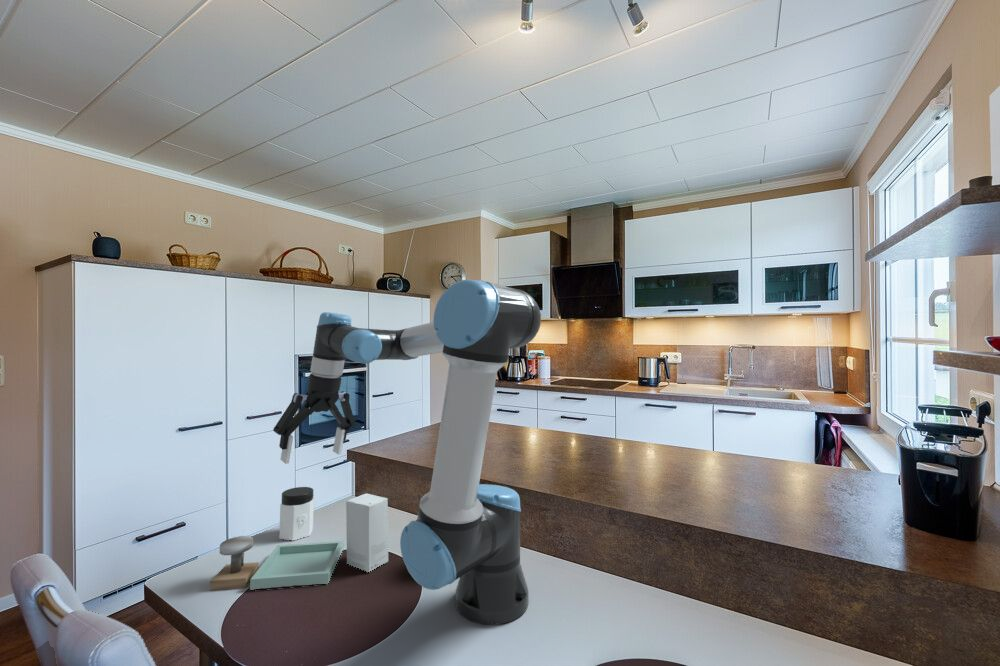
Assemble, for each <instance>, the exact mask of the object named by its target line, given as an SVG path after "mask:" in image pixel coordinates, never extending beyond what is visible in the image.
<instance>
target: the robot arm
mask: <svg viewBox="0 0 1000 666" xmlns="http://www.w3.org/2000/svg"><path fill="white" fill-rule="evenodd" d="M541 322H542V314H541V310H540V307H539V304H538V303H537V301H535V298H533V297H532V296H531V295H530V294H529V293H527V292H526V291H524V290H522V289H518V288H514V287H508V286H506V285H505V286H504V285H500V284H497V283H494V282H490V281H486V280H485V281H484V280H476V279H462V280H459V281H456V282H454V283H453V284H451V285H450V286H449V287H448V289H445V290H444V292H443V293H442V294H440V296H439V299H438V301H437V303H436V305H435V308H434V312H433V320H432V322H427V323H423V324H419V325H414V326H411V327H406V328H402V329H398V330H396V329H379V328H378V329H377V328H376V329H375V328H362V327H357V326H356V327H355V326H352V318H351V316H349V315H346V314H342V313H337V312H330V311H329V312H328V311H327V312H322V313H320V315H319V318H318V324H317V325H316V333H315V339H314V346H313V353H312V358H311V363H310V369H309V371H310V372H311V373H310V374H309V375H308V382H307V391H306V393H305V394H299V393H297V392H295V393H293V394H292V397H291V400H290V403H289V405H288V406H287V408H286V409H285V411H284V412H283V414H282V415H281V416H280V418H279V419H278V421H277V422H276V425H275V426H274V427H273V432H274V433H275V434H277V435H279V436H280V438H279V439H280V440H279V444H278V445H279V446H278V447H279V448H280V449H281V454H280V461H281V462H283V463H284V464H285V465H286V464H290V459H291V452H292V446H293V440H294V436H293V435H292V434H293V432H295V431H296V429H297V428H299V427H300V426H301V424H303V422H304V421H305V420H306V419H307V418H308V417H309V416H311V415H312V414H314V413H320V412H328V411H329V412H330V414H331V416H333V418H334V419H335V420H336V422H337V423H338V425H339V426H337V427H336V431H335V435H334V436H335V437H334V441H333V449H332V452H333V453H335V454H336V455H342V451H343V445H344V444H343V443H344V441H346V439H347V434H348V431H350V430H351V427H355V426H356V420H355V418H354V413H353V410H352V406H351V403H350V394H349V393H348V392H346V391H345V390H344V391H343V390H342V391H340V389H341V385H342V377H341V376H342V375H343V372H344V366H345V361H346V359H348V360H350V361H352V362H354V363H360V364H362V365H363V364H370V363H373V362H375V361H382V360H384V361H385V360H389V361H391V360H394V361H396V360H399V361H400V360H402V361H409V360H415V359H418V358H419V357H422V356H429V355H433V354H442V355H443V356H444V357H445V359H446V360H447V362H448V364H449V366H448V372H447V378H446V386H445V392H444V398H443V404H442V412H441V419H440V425H439V431H438V435H437V437H438V438H437V442H436V443H437V445H436V451H435V456H434V463H433V470H432V475H431V476H432V477H431V483H430V490H429V491H427V492H426V494H424V495H423V496H422V497H421V499H420V500H419V504H418V505H419V507H418V510H417V511H418V512H417V518H416V520H412V521H410V522H409V523H408V524H407V525H406V526H404V528H403V529H402V531H401V533H400V539H399V540H400V541H399V543H400V544H399V546H400V551H401V552H400V553H401V558H402V560H403V563H404V564H405V566H406V569H407V572H408V573H409V574H410V575H411V578H413V580H414V581H415V582H416V583H417V584H418V585H420V586H421V587H422V588H425V589H427V590H430V591H435V590H436V591H437V590H439V589H441V588H444V587H446V586H447V585H451V584H453V583H454V582H455V581H456V580H458V581H457V585H456V588H455V607H456V610H457V612H458V613H459V614H460V615H462V617H464V618H466V619H467V620H469V621H471V622H474V623H477V624H481V625H500V624H507V623H508V622H512V621H514V620H516V619H518V618H520V617H521V616H522V615H524V613H525V612H526V611H527V609H528V607H529V588H528V584H527V582H526V577H525V575H524V571H523V568H522V564H521V512H522V509H521V498H520V494H519V493H518V492H517V491H516V490H515V489H512V488H510V487H508V486H505V485H504V486H502V485H498V484H497V485H496V484H486V483H485V484H484V483H483V484H482V483H480V480H481V475H482V468H483V462H484V457H485V455H484V454H485V450H486V444H487V439H488V437H487V436H488V430H489V425H490V420H491V419H490V418H491V413H492V408H493V407H492V406H493V400H494V395H495V393H494V392H495V388H496V382H497V375H498V372H499V370H500V369H501V368H503V367H504V366H506V365H507V364H508V361H509V355H510V349H518V348H522V347H524V346H525V345H529V343H530V342H532V341H533V340H534V339H535V337H537V334H538V332H539V330H540V328H541V325H542V323H541ZM339 391H340V392H339ZM337 401H339V402H340V407H341V409H342V412H343V415H342V413H341V411H340V410H339V408H338V406H337V405H336V403H337ZM304 402H305V403H304ZM302 404H303V405H302ZM301 405H302V406H301ZM300 408H301V409H300ZM299 409H300V410H299ZM343 416H344V417H343Z"/></svg>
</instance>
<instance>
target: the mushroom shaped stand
mask: <svg viewBox="0 0 1000 666" xmlns="http://www.w3.org/2000/svg"><path fill="white" fill-rule="evenodd" d="M253 546H254V537H253V536H250V535H239V536H235V537H231V538H227V539H226V540H224V541H222V542H221V543H220V544H219V554H220V555H222V556H230V564H228V563H227V564H225V565H224V566H223V567H222V569H221V570H219V571H218V573H217V574H216V575H215V576H214V577H212V578H211V580H210V582H209V583H210V586H209V591H218V590H219V591H220V590H232V589H233V590H234V589H243V588H245V589H246V588H247V586H249V585H250V579H251V578H252V577H253V575H254V574H255V573H256V572H257V570H258V569H259V568H260V562H258V561H257V562H244V559H245V553H246V552H247V551H249V550H251V549H252V548H253Z"/></svg>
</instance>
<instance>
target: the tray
mask: <svg viewBox="0 0 1000 666" xmlns="http://www.w3.org/2000/svg"><path fill="white" fill-rule="evenodd" d="M342 551H343V552H344V540H338V541H337V540H335V541H324V542H323V541H322V542H307V543H306V542H305V543H294V544H293V543H292V544H279V545H276V547H275V548H274V549H273V550H272V552H271V553H270V554H269V555H268V556H267V558H266V559H265V560H264V561H263V563H262V564H261V566H259V569H258V570H257V572H256V573H255V574H254V575H253V577H252V578H251V579H250V582H249V591H250V590H254V589H260V588H271V587H282V586H293V585H310V584H311V585H312V584H326V585H329V584H328V583H330V582H329V581H331V579H332V577H331V576H333V575H332V573H333V574H334V572H335V570H336V568H335V566H336V564H337V565H338V563H339V561H340V559H339V557H340V555H341V556H342V554H343V552H342ZM341 553H342V554H341ZM340 558H341V557H340ZM338 560H339V561H338ZM337 562H338V563H337ZM336 567H337V566H336ZM334 569H335V570H334ZM333 571H334V572H333ZM330 578H331V579H330Z"/></svg>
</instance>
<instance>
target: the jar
mask: <svg viewBox="0 0 1000 666" xmlns="http://www.w3.org/2000/svg"><path fill="white" fill-rule="evenodd" d="M314 501H315V497H314V488H312V487H310V486H299V487H298V486H297V487H292V488H289V489H286V490H284V491H283V492H282V493H281V503H280V505H279V507H280V509H279V537H278V539H279V540H283V539H284V540H285V541H289V540H292V541H291V542H294V541H293V540H295V541H298V540H300V538H302V539H304V538H303V537H305V538H308V537H310V536H311V534H312V532H313V531H314V506H315V502H314ZM307 536H308V537H307ZM297 539H298V540H297Z"/></svg>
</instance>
